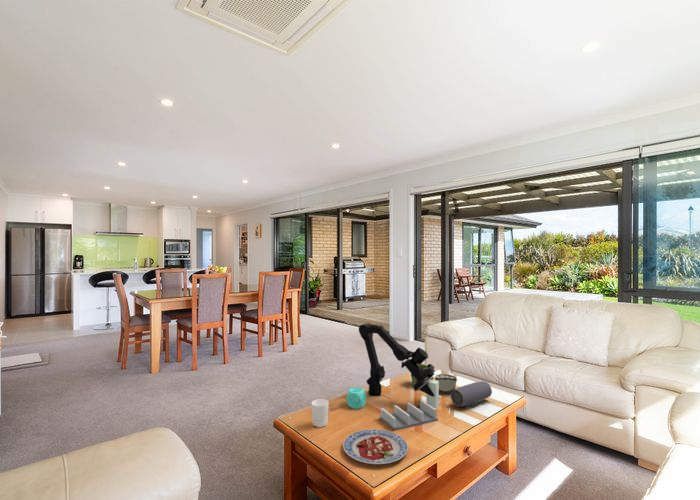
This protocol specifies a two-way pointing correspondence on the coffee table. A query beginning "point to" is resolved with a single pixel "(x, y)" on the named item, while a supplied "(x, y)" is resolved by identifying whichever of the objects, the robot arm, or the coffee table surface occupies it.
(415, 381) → the plant pot
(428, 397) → the cream white box
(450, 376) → the food container
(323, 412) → the white cup
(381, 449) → the ceramic plate
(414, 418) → the dish rack
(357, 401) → the decorative dice
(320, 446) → the coffee table surface
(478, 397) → the bluetooth speaker
